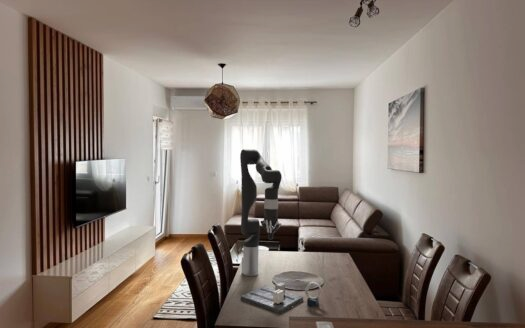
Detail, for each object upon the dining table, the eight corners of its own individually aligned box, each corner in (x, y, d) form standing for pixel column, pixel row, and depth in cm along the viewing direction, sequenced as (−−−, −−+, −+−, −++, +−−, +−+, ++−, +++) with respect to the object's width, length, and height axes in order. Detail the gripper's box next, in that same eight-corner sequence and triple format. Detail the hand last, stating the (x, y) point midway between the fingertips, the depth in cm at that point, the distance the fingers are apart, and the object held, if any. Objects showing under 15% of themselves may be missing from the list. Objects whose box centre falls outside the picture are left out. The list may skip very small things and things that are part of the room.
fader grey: (275, 294, 186) (275, 284, 186) (280, 292, 190) (280, 282, 190) (279, 296, 185) (280, 286, 184) (285, 293, 188) (285, 283, 188)
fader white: (273, 302, 177) (273, 291, 177) (278, 299, 181) (278, 289, 180) (278, 303, 175) (278, 293, 175) (283, 301, 179) (283, 290, 179)
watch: (305, 301, 185) (306, 279, 185) (321, 303, 182) (322, 281, 182) (303, 305, 180) (303, 282, 180) (319, 308, 177) (320, 285, 177)
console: (240, 299, 185) (240, 295, 185) (265, 288, 201) (265, 284, 201) (279, 313, 170) (279, 309, 170) (303, 300, 186) (303, 296, 186)
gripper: (257, 206, 200) (256, 238, 201) (276, 209, 192) (276, 242, 192) (265, 205, 206) (265, 236, 206) (285, 207, 197) (284, 240, 198)
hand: (270, 239), depth 199 cm, fingers closed
